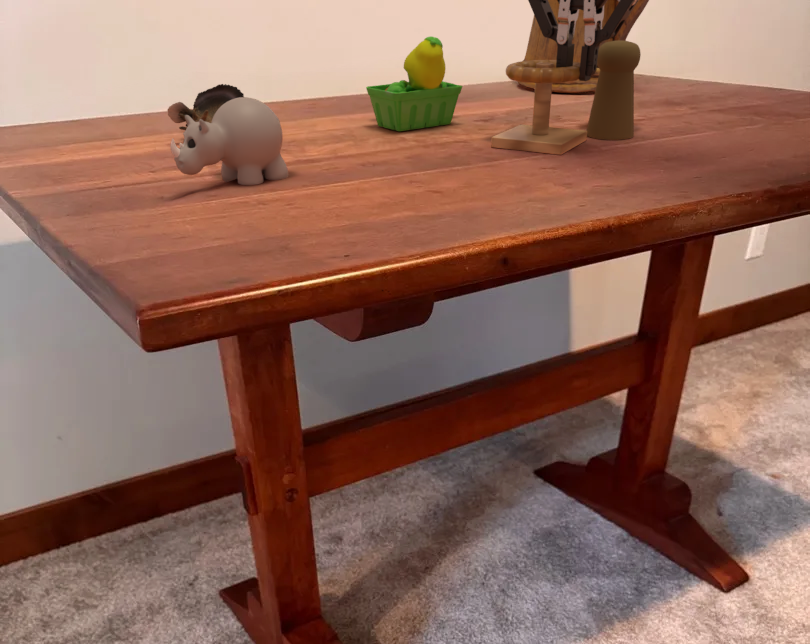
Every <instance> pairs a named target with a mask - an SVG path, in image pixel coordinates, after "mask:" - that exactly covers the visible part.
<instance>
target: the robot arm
mask: <svg viewBox="0 0 810 644" xmlns="http://www.w3.org/2000/svg"><path fill="white" fill-rule="evenodd" d="M527 1H528V3H529V7H530V8H531V10H532V13H533V16H534V15H535V18H536V20H537V22H538V25H539V27H540V29H541V32H542V34H543V36H544V37H546V38H550V39H552V40H554V41H555V42H556V43H557V61H556V68H560V67H570V66H573V57H574V45H575V44H572V41H573V39H574V33H575V26H576V21H577V19H578V15H579V9H580V10H583V11H584V15H583V20H584V23H585V31H584V42H585V46H582V50H581V62H580V75H579V80H580V81H588V80H590V78H591V75H594V74H595V72H596V70H597V59H598V49H599V45H600V43H601V42H602V41H605V40H608V39H611V38H614V37H615V36H616V35H617V34H618V32H619V30H620V29H621V27H622V26H623V24H624V23H625V21H626V19H627V18H628V16H629V15H630V13H631V12H632V10H633V9H634V7H635V5H636V4H637V2H638V1H639V0H618V1H619V3H618V5H617V6H616V8H615V10H614V11H613V13H612V14H611V16H610V18H609V19H608V21H607V22H606V24H605V26H604V27H603V29H602V21H603V18H604V5H605V3H606V2H607V1H608V0H557V1H558V3H559V12H558V22H559V24H558V23H557V21H556V18H555V16H554V14H553V11H552V9H551V6H550V4H549V2H548V0H527ZM564 9H565V10H564Z"/></svg>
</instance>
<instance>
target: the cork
mask: <svg viewBox="0 0 810 644" xmlns="http://www.w3.org/2000/svg"><path fill="white" fill-rule="evenodd" d="M640 60H641V49H640V46H639V44H637V43H636V42H632V41H629V40H626V41H621V40H618V41H610V42H606V43H604V44H602V45H601V47H600V48H599V50H598V59H597V65H598V67H599V69H600V73H599V77H598V82H597V86H596V91H595V93H594V95H593V99H592V104H591V108H590V114H589V118H588V122H587V126H586V129H585V130H586V131H587V137H589V138H592V139H598V140H609V141H611V140H612V141H619V140H620V141H621V140H627V139H632V138H634V135H635V70H636V69H637V67H638V66H639V63H640Z"/></svg>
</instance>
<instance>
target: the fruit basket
mask: <svg viewBox="0 0 810 644" xmlns="http://www.w3.org/2000/svg"><path fill="white" fill-rule="evenodd" d="M443 47H444V46H443V42H442V41H441V40H440V38H438V37H435V36H426V37H425V38H424V39H423V40H422V41H420V42H419V43H418V44H417V45H416V47H414V48H413V49H412V50H411V51H410V52H409V53H408V54H407V56H406V57H405V59H404V62H403V69H404V71H405V72H406V73H407V78H408V81H407V80H405V79H401V80H399V81H394V82H392V83H387V84H379V85H369V86H366V87H365V88H366V92H367V94H368V96H369V98H370V99H369V100H370V102H371V106H372V110H373V113H374V116H375V120H376V124H377V126H378V127H380V128H381V127H382V128H384V129H388V130H392V131H397V132H407V131H411V130H412V131H413V130H420V129H425V128H434V127H438V126H447V125H451V123H452V120H453V116H454V113H455V109H456V107H457V104H458V103H457V102H458V99H459V96H460V94H461V92H462V89H463V85H461V84H455V83H452V82H447V81H443V80H444V78H445V74H446V61H445V58H444V50H443Z"/></svg>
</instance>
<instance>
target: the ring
mask: <svg viewBox="0 0 810 644" xmlns="http://www.w3.org/2000/svg"><path fill="white" fill-rule="evenodd" d="M556 61H557V60H531V61H523V60H522V61H516V62H512V63H509V64H508V65H507V66H506V68H505V75H506V77H507V78H508V79H509V80H511V81H513V82H514V81H515V82H518V81H519V82H526V83H562V82H570V81H576V80H578V79H579V75H580V63H579V62H574V61H573V66H570V67H560V68H556ZM540 62H550V63H553V64H554V66H553V68H536V64H537V63H540Z"/></svg>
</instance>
